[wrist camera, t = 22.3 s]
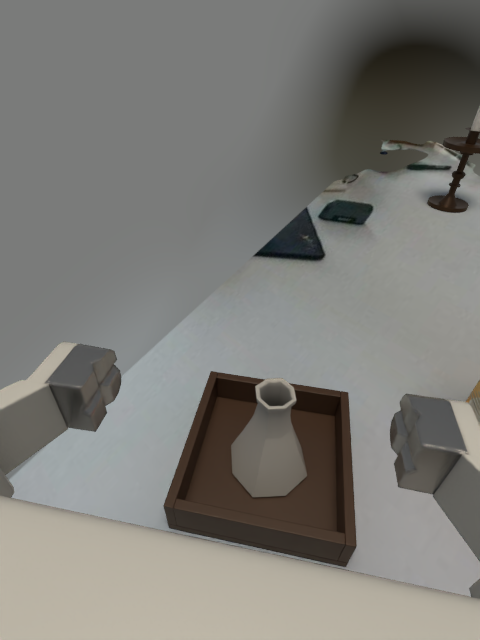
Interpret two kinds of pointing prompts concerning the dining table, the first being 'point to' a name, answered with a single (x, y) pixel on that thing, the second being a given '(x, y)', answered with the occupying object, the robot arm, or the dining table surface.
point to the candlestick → (466, 148)
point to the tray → (276, 511)
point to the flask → (269, 444)
